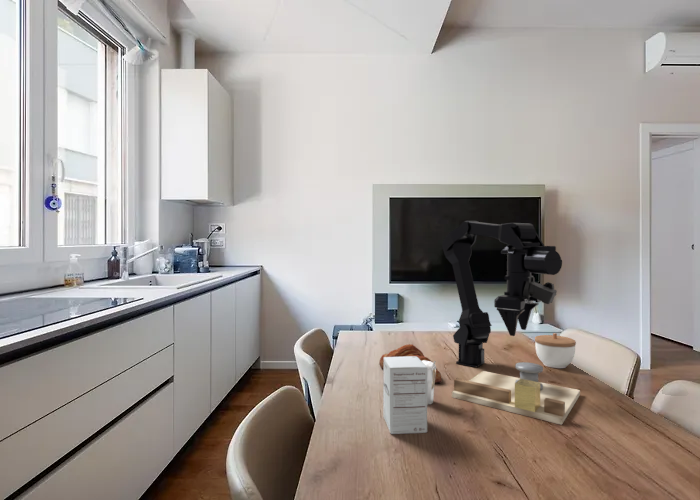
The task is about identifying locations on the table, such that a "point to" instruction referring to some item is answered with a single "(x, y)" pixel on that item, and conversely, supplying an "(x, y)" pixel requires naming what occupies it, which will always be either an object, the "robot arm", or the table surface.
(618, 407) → the table surface
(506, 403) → the board
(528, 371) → the grey rounded knob
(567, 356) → the lidded jar
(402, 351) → the pastry
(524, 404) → the tab
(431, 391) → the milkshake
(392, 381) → the supplement box
